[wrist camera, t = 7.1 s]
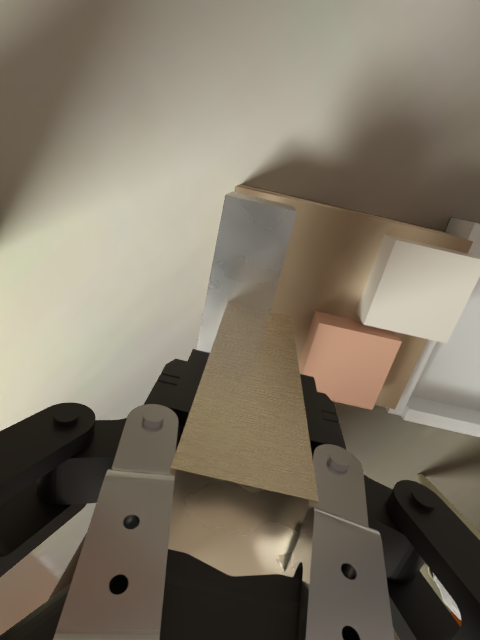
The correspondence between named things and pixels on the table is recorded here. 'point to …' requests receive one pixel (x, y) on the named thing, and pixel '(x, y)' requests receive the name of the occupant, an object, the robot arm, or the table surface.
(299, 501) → the scraper
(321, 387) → the terracotta tile
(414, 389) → the box
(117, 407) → the table surface
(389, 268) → the offwhite tile
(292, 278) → the tan flat block
